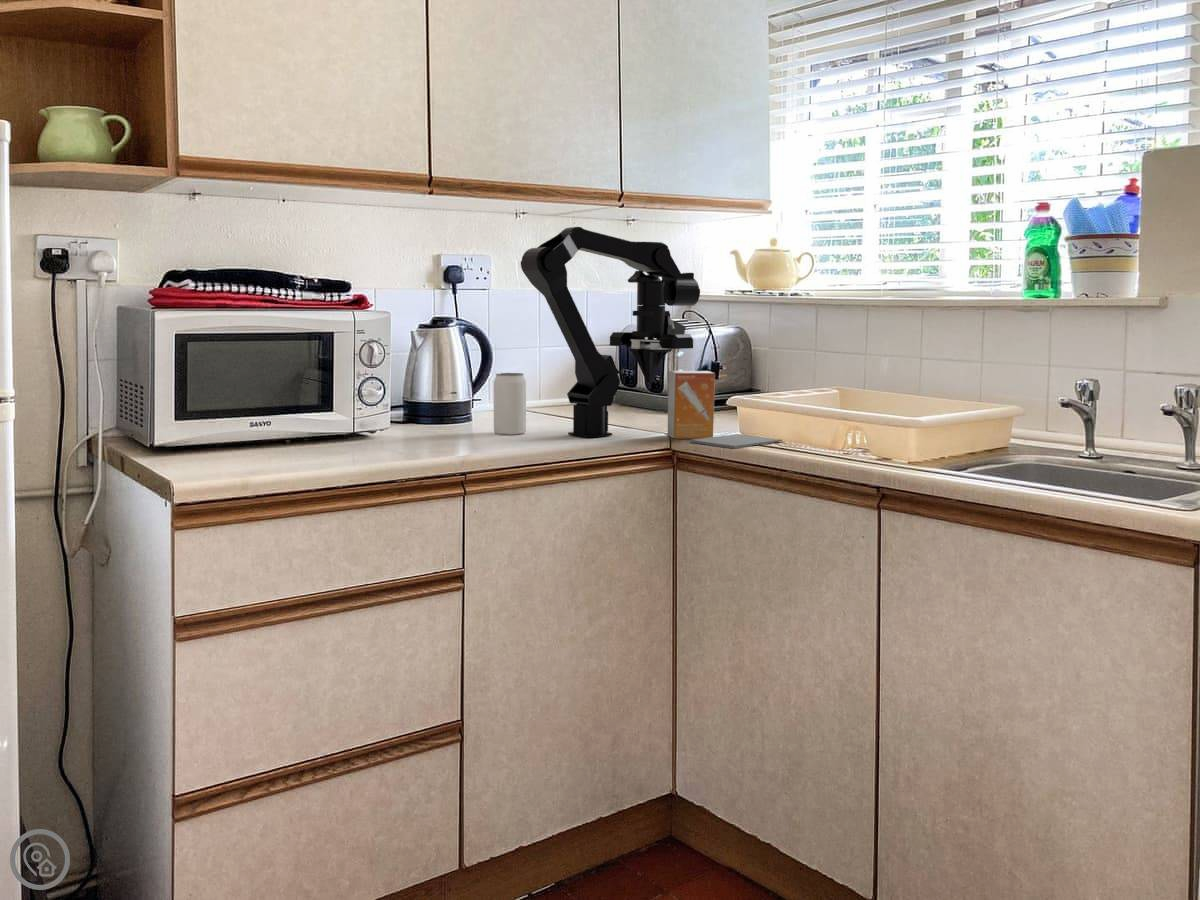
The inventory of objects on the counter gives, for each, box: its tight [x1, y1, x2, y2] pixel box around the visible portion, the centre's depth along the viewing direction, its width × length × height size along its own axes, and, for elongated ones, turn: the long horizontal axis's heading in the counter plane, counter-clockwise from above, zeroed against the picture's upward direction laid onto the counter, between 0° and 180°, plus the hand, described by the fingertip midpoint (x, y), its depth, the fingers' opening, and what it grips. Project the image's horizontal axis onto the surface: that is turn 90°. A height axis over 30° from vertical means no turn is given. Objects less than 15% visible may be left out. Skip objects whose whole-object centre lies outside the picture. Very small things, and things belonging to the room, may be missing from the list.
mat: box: [689, 433, 783, 449], centre depth 204 cm, size 14×11×1 cm
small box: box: [667, 370, 716, 440], centre depth 210 cm, size 8×6×13 cm
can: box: [493, 372, 527, 436], centre depth 214 cm, size 6×6×12 cm
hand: (649, 382), depth 218 cm, fingers closed
